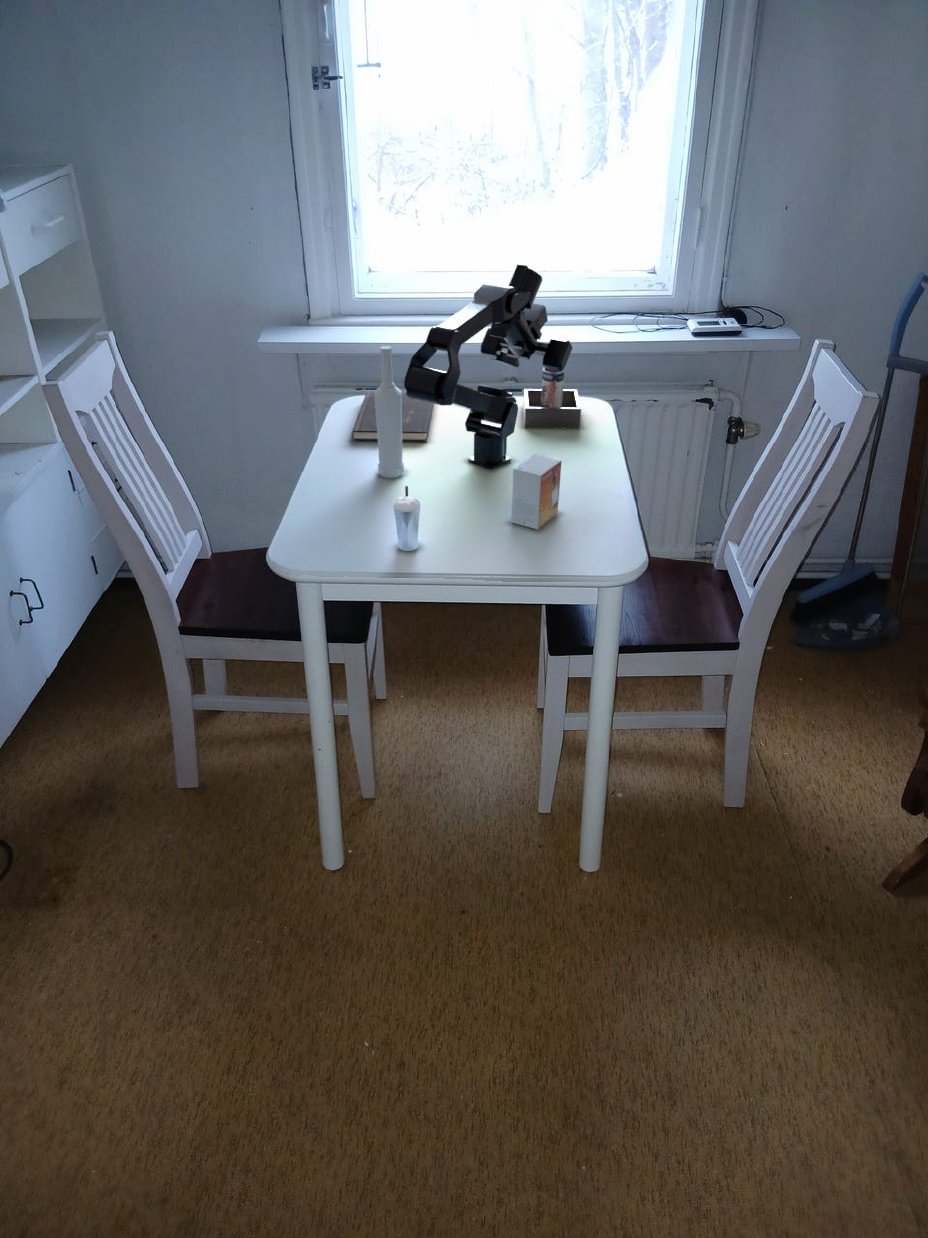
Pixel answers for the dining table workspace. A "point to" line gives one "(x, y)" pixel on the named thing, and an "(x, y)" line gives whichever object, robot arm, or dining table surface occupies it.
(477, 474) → the dining table surface
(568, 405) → the crate
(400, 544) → the milkshake
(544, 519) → the small box
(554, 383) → the beer can
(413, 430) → the hardcover book
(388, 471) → the bottle
